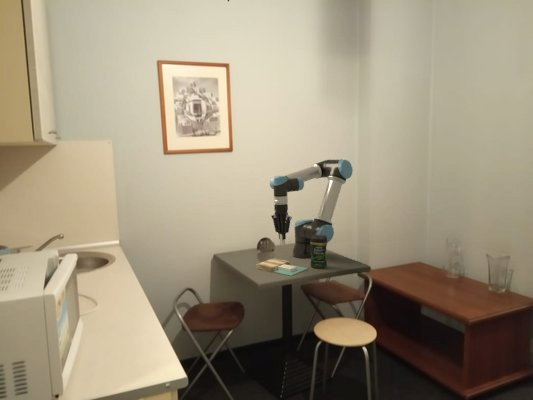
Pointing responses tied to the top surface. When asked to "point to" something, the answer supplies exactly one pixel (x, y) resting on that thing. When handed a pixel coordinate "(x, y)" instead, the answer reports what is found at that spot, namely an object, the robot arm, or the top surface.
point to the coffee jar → (319, 251)
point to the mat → (299, 269)
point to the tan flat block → (271, 264)
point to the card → (287, 268)
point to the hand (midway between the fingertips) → (282, 244)
